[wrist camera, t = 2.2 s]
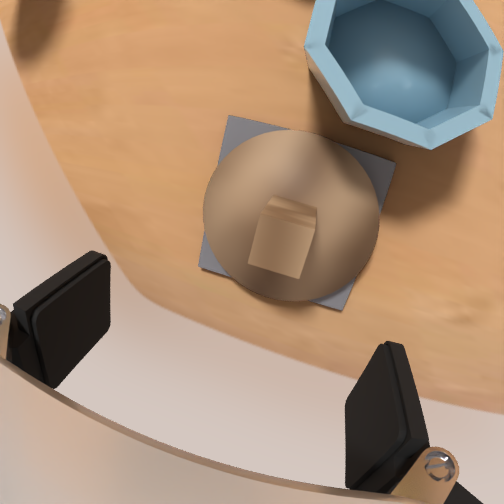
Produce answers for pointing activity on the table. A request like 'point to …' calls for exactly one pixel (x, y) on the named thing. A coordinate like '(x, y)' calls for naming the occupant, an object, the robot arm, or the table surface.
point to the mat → (373, 165)
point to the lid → (291, 215)
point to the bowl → (406, 66)
